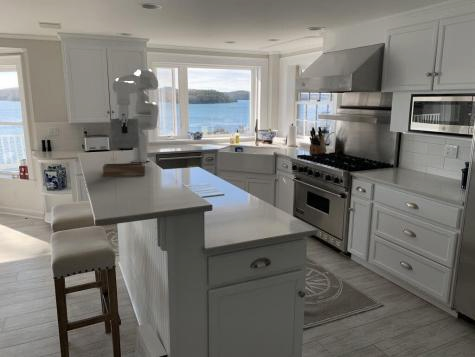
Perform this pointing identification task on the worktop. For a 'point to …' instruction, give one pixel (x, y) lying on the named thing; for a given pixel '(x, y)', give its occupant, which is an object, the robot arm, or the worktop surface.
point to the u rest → (123, 169)
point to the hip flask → (124, 134)
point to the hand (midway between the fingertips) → (125, 132)
